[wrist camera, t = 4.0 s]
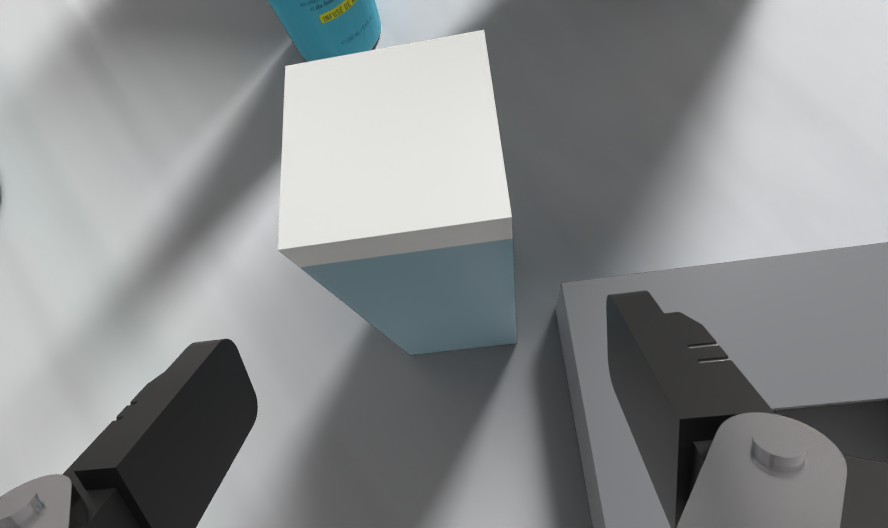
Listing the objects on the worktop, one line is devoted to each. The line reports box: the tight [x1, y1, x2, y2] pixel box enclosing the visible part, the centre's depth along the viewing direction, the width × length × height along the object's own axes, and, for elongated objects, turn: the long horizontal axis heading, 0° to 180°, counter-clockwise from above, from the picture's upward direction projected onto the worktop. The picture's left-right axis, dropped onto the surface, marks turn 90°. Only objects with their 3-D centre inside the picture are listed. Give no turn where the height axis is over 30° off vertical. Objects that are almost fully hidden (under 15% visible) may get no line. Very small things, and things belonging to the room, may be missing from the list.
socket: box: [555, 242, 888, 528], centre depth 15 cm, size 16×16×4 cm
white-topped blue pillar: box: [278, 30, 517, 355], centre depth 15 cm, size 4×4×12 cm
